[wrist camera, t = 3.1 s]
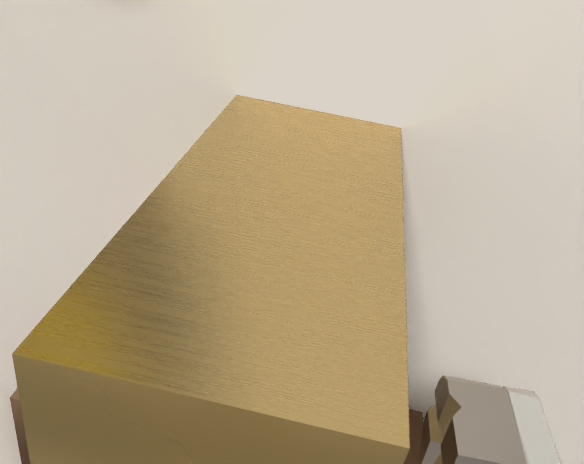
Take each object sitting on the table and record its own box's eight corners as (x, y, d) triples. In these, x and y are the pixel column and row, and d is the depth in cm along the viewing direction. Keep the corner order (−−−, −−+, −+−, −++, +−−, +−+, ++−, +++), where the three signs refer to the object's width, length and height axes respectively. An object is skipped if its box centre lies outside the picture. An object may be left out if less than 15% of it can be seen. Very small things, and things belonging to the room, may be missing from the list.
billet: (400, 128, 13) (409, 447, 5) (364, 265, 15) (331, 637, 7) (236, 95, 13) (11, 353, 5) (223, 234, 15) (46, 562, 8)
